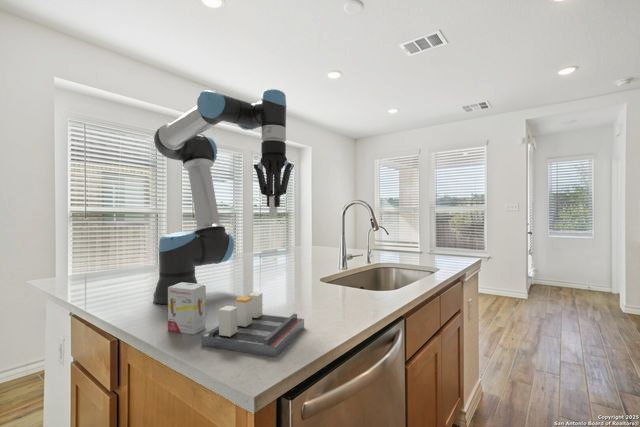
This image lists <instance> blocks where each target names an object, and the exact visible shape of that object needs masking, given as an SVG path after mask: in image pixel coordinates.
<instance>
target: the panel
mask: <svg viewBox="0 0 640 427" xmlns="http://www.w3.org/2000/svg"><path fill="white" fill-rule="evenodd" d="M304 328H305V318H300V317H299V318H298V313H292V315H290V316H283V315H282V316H281V315H272V314H265V313H264V314H263V313H262V315H261V316H260V317H258V318H253V317H252V323H251V324H249V325H248V326H246V327H244V326H237V332H236V333H235V334H233V335H232V336H230V337H229V336H222V335H219V325H218V326H216V327H214V328H213V329H210V330H209V331H207V332H206V333H204V334H202V335H201V346H203V347H208V348H213V349H214V348H215V349H222V350H228V351H235V352H241V353H245V354H246V353H247V354H254V355H259V356H265V357H274V358H277V357H278V356H279V354H281V353H282V351H283V350H285V348H286V347H287V346H288V345H289V344H290V343H291V342H292V341H293V340H294V339H295V338H296V337H297V335H299V333H301V331H302V330H304Z"/></svg>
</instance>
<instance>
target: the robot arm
mask: <svg viewBox="0 0 640 427" xmlns="http://www.w3.org/2000/svg"><path fill="white" fill-rule="evenodd" d="M196 100H197V101H196V106H194V107H193V108H192V109H191V110H189V111H187V112H186V113H184V114H183V115H182V116H180V117H179V118H177V119H175V120H174V121H173V122H171V123H165V124H163V125H162V126H160V127H159V128H158V129H157V130H156V131H155V132H154V136H153V137H154V138H153V142H154V145H155V146H154V147H155V148H156V150H157V151H158V152H159V154H161V155H162V156H163V157H165V158H168V159H171V160H175V161H182V166H183V168H184V169H185V170H186V171H187V172H188V179H189V184H190V186H189V187H190V191H191V198H192V203H193V209H194V210H193V211H194V214H195V215H194V216H195V221H196V222H195V223H196V229H194V231H193V230H187V231H186V230H185V231H178V232H171V233H166V234H164V235H162V236H161V237H160V238H159V245H158V281H157V283H156V285H155V286H156V287H155V291H154V292H153V298H152V299H153V300H152V301H153V303H155V304H160V305H168V287H170V286H173V285H175V284H178V283H181V282H184V283H194V284H199V283H198V281H197V277H196V267H201V266H206V265H217V264H221V263H225V262H228V261H229V260H230V259H231V257H232V255H233V253H234V249H235V241H234V240H235V239H234V237H233V236H232V234H231V233H229V232H226V228H225V226H224V225H223V224H222V223H221V221H220V217H219V216H220V215H219V209H218V204H217V199H216V193H215V187H214V182H213V181H214V180H213V176H212V170H211V168H212V167H213V166H214V163H215V162H216V161H217V160H216V159H217V157H218V156H217V154H218V149H217V148H218V147H217V144H216V142H215V141H214V139H213V138H212V137H210V136H208V135H204V134H202V133H204V132H205V131H207V130H209V129H210V128H213V127H214V126H216V125H218V124H219V123H221V122H227V123H230V124H235V125H237V126H238V127H239V128H241V129H242V130H245V131H248V130H250V131H251V130H252V131H253V130H254V129H258V128H261V140H262V142H261V148H260V150H261V158H260V161H259V162H258V163H257V164H255V163H254V164H253V168H254V170H255V171H256V176H257V180H258V185H259V189H260V194H261V195H264V196H265V197H266V207H268V211H269V213H268V214H269V216H268V217H269V218H270V219H274V218H278V208H279V207H280V206H281V196H283V195H286V194H287V190H288V185H289V180H290V177H291V176H290V175H291V173H292V170H293V169H294V168H295V164H293V163H291V162H289V161H288V158H287V156H286V154H287V152H286V150H287V148H286V146H287V144H286V141H287V130H286V129H287V123H286V122H287V107H288V106H287V98H286V94H285V92H283V90H280V89H276V88H275V89H274V88H269V89H264V90H263V91H262V93H261V100H259V101H258V102H255V103H251V102H248V101H245V100H241V99H240V98H235V97H232V96H229V95H226V94H222V93H220V92H219V91H212V90H209V89H208V90H207V89H204V90H203V91H201V92H200V94H199V95H198V97H197V99H196ZM283 168H284V170H283ZM263 169H265V173H264V170H263ZM282 170H283V173H282ZM281 175H282V176H281ZM265 176H266V177H265Z"/></svg>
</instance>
